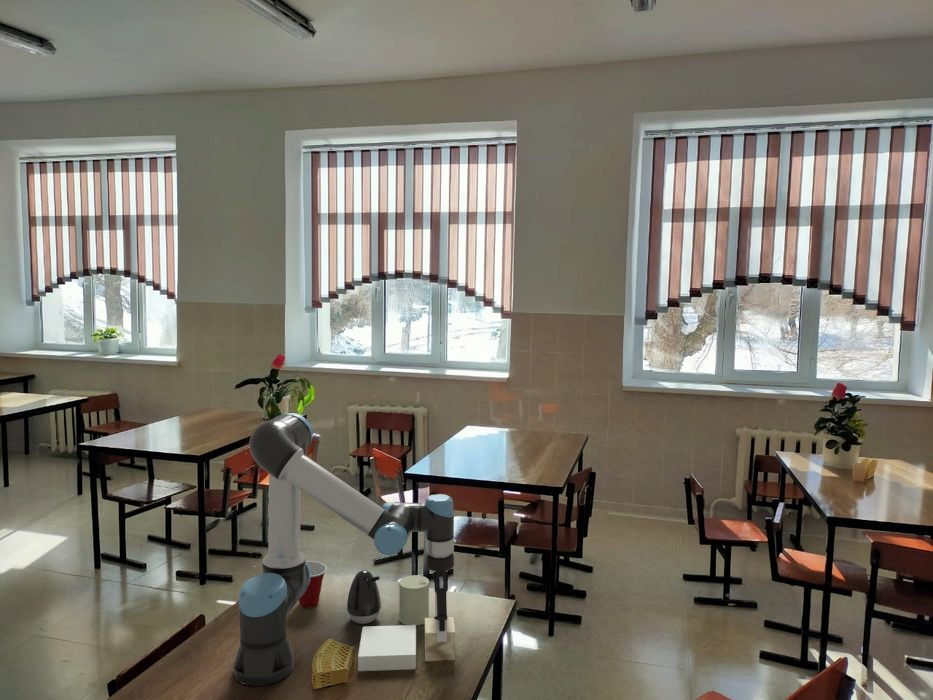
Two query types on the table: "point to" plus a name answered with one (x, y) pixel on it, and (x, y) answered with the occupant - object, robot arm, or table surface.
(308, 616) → the table surface
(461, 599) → the table surface
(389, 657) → the white square slab
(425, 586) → the can
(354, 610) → the pump dispenser
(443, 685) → the table surface
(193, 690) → the table surface
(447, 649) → the maple cube
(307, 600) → the plastic cup
